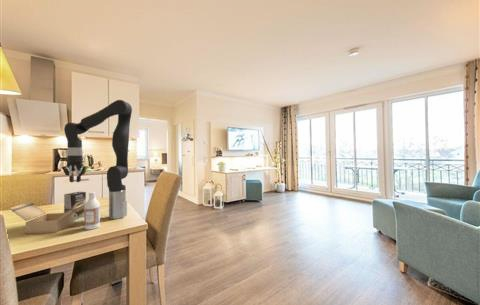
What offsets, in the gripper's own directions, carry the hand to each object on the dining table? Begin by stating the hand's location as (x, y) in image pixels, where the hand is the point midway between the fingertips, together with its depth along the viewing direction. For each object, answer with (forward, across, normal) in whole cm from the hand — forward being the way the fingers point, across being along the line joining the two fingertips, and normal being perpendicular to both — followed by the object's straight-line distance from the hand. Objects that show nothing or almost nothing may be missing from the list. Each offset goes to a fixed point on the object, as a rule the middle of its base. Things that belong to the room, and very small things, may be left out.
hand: (75, 181), depth 125 cm
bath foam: (+23, -19, +18) cm, 35 cm away
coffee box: (+23, 0, 0) cm, 23 cm away
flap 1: (+17, +10, +15) cm, 25 cm away
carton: (+23, +3, +15) cm, 28 cm away
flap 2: (+17, -4, +15) cm, 23 cm away
